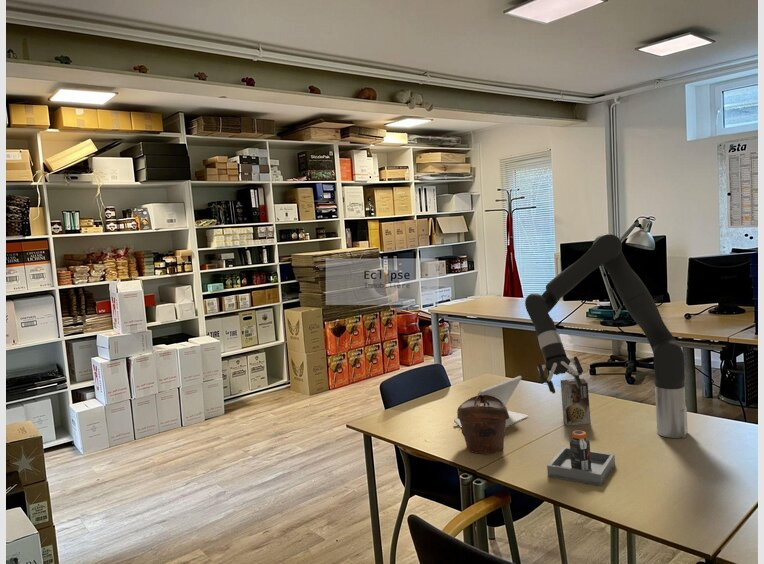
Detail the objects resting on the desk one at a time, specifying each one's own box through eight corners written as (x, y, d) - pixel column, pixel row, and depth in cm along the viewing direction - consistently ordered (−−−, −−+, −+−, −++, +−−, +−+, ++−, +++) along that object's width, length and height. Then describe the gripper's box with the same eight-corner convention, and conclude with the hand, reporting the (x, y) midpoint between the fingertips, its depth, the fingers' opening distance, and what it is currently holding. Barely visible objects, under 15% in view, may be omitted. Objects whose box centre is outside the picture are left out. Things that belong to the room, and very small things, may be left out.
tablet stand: (529, 417, 231) (526, 376, 230) (488, 436, 216) (485, 392, 214) (494, 409, 245) (491, 370, 244) (453, 426, 230) (449, 384, 228)
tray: (615, 464, 181) (614, 454, 181) (601, 486, 168) (600, 474, 168) (564, 456, 191) (563, 446, 190) (547, 476, 178) (547, 465, 177)
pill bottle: (592, 471, 176) (590, 435, 175) (572, 471, 177) (570, 436, 176) (589, 463, 182) (587, 428, 181) (570, 463, 183) (567, 428, 182)
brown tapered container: (491, 432, 218) (487, 386, 216) (522, 450, 199) (518, 400, 197) (449, 443, 212) (445, 396, 210) (477, 462, 193) (472, 411, 191)
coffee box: (586, 418, 223) (584, 378, 222) (591, 424, 217) (588, 382, 216) (562, 419, 224) (560, 379, 223) (566, 425, 218) (563, 384, 216)
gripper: (532, 346, 199) (547, 391, 191) (573, 337, 198) (589, 382, 190) (530, 354, 205) (544, 397, 197) (570, 345, 205) (585, 389, 197)
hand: (566, 390), depth 194 cm, fingers open, 8 cm apart
